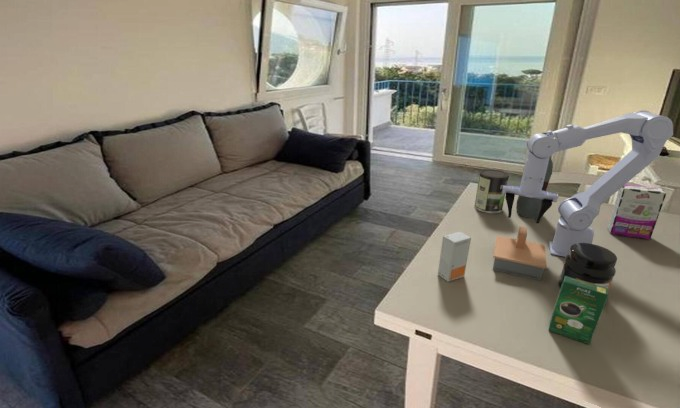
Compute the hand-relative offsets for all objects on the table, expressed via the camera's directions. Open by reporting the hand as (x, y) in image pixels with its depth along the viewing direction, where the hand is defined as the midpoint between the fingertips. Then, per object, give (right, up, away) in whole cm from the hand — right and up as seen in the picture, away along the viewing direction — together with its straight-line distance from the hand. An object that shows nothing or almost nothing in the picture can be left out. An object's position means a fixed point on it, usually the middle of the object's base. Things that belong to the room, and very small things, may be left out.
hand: (523, 219), depth 112 cm
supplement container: (+6, -18, -18) cm, 26 cm away
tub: (-5, -13, -6) cm, 15 cm away
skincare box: (-25, -15, -11) cm, 31 cm away
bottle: (+15, +1, +27) cm, 31 cm away
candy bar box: (+41, -6, +12) cm, 43 cm away
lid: (-5, -10, -7) cm, 13 cm away
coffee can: (+2, +3, +31) cm, 32 cm away
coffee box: (-5, -24, -31) cm, 40 cm away
